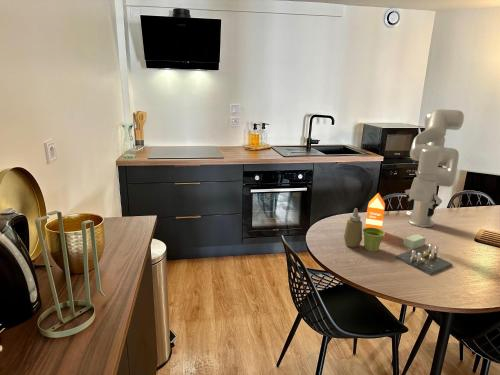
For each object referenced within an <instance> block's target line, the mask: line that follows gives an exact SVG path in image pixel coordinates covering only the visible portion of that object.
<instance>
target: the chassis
mask: <svg viewBox="0 0 500 375" xmlns="http://www.w3.org/2000/svg"><path fill="white" fill-rule="evenodd" d="M433 246H434V244H432V243H429V244H428V250H427V251H425V250H424V249H421V248H419V247H417V248H414V249H411V250H408V251H405V252H403V253H400V254H397V255H395V258H396V259H397V260H399V261H400V262H401V261H402V262H403V263H405V264H407V265H409V266H411V267H413V268H415V269H417V270H419V271H421V272H423V273H425V274H427V275H429V276H432V275H433V274H436V273H438V272H441V271H443V270H445V269H447V268H450V267H452V266H453V263H452V262H450V261H447V260H445V259H443V258H441V257H439V256H438V253H439V246H434V248H433ZM433 249H434V250H433ZM432 251H433V253H432Z"/></svg>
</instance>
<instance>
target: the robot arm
mask: <svg viewBox="0 0 500 375" xmlns="http://www.w3.org/2000/svg"><path fill="white" fill-rule="evenodd" d="M464 119H465V115H464V112H463V111H461V110H458V109H441V108H440V109H436V110H434V111H432V112H428V113H426V115H425V118H424V130H423V131H421V132H419V133H418V134H417V135H416V136H415V137H414V138H413V141H412V143H411V146H410V150H409V156H410V158H411V160H412V161H416V162H417V161H418V166H417V170H416V171H415V172H414V174H415V175H416V177H414V178H413V181H412V184H411V187H410V188H409V189H405V190H404V193H405V197H406V198H407V202H408V204H407V211H406V213H405V215H406V216H408V220H407V221H408V223H409V224H411V225H413V226H416V227H419V228H420V227H421V228H431V227H433V226H434V225H435V222H434V221H433V220H432V218H433V216H434V214H435V209H436V208H437V207H439V206H440V205H441V204H442V202H443V200H442V199H441V197H439V196H438V195H437V192H438V191H437V189H438V186H439V187H444V188H445V187H446V188H451V187H453V186H454V184H455V181H456V178H457V177H456V176H457V171H458V164H459V156H460V153H459V150H457V149H456V148H453V147H452V148H451V147H445V143H446V138H445V136H446V135H447V131H448V130H452V131H458V130H460V129H461V128H462V126H463V124H464V121H465V120H464ZM435 201H436V202H435ZM411 210H412V211H411Z"/></svg>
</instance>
